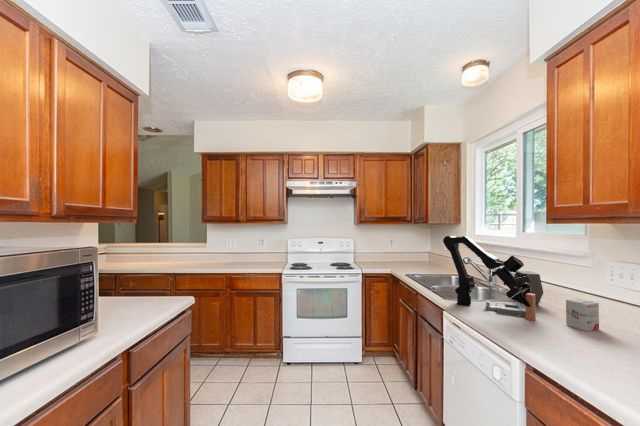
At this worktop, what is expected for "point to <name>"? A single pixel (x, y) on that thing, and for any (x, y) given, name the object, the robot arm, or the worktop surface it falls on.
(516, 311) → the grey square frame
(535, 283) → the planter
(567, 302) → the ink box
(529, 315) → the wedge pin
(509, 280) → the robot arm
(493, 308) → the bracket
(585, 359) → the worktop surface
